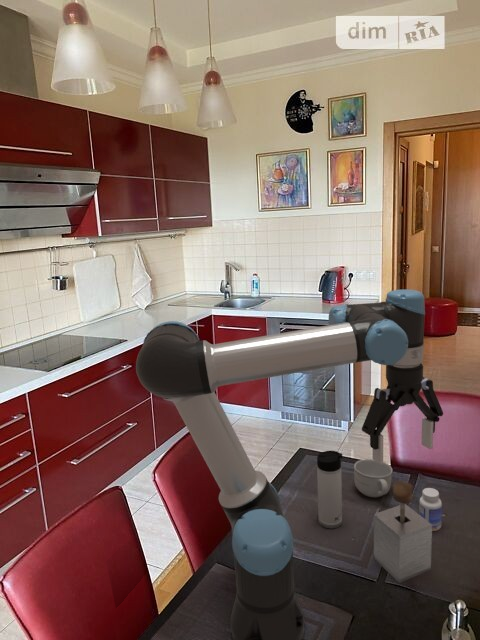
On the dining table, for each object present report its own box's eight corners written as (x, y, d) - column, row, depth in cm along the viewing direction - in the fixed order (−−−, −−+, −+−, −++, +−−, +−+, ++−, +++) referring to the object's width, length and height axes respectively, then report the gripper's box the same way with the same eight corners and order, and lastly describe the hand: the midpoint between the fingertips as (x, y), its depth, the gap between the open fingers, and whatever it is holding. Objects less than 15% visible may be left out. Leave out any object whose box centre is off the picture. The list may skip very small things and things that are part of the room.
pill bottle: (443, 522, 129) (444, 489, 127) (437, 534, 125) (439, 500, 123) (422, 516, 133) (423, 483, 130) (416, 527, 128) (416, 493, 126)
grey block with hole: (399, 583, 110) (399, 536, 107) (367, 551, 120) (367, 508, 118) (430, 570, 113) (432, 524, 111) (397, 540, 124) (398, 498, 121)
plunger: (400, 568, 111) (401, 497, 107) (381, 550, 117) (381, 482, 113) (423, 559, 114) (424, 489, 109) (403, 542, 119) (404, 475, 115)
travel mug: (343, 529, 129) (342, 460, 125) (318, 528, 130) (316, 459, 126) (343, 515, 135) (342, 448, 130) (319, 513, 136) (317, 447, 132)
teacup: (351, 481, 151) (350, 458, 149) (387, 480, 150) (387, 456, 148) (360, 509, 137) (360, 483, 135) (399, 508, 137) (400, 482, 135)
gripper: (366, 378, 97) (366, 475, 101) (462, 357, 106) (458, 447, 110) (344, 368, 103) (345, 459, 108) (436, 348, 112) (434, 434, 117)
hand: (402, 453), depth 109 cm, fingers open, 13 cm apart
